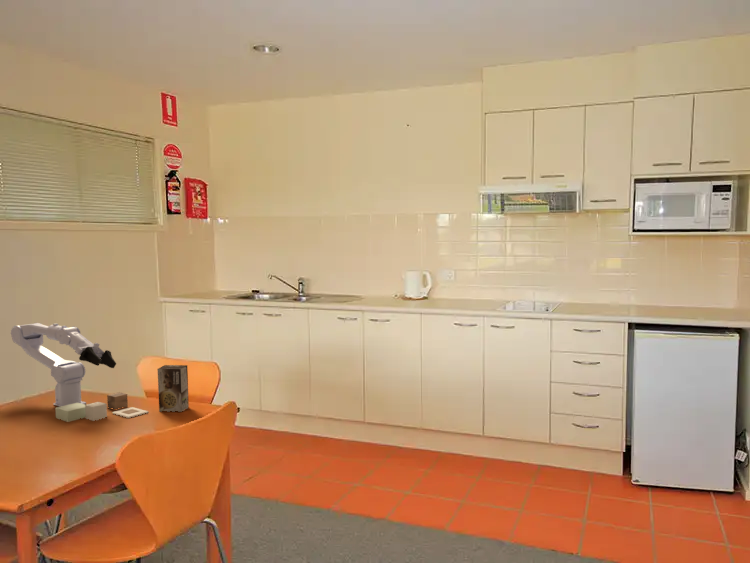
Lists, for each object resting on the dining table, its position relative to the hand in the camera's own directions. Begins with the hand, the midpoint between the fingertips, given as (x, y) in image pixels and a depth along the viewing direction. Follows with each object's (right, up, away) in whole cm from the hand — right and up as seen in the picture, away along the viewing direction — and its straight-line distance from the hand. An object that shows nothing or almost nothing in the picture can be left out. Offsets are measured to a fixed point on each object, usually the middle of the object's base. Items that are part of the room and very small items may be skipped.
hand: (107, 364), depth 215 cm
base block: (-10, -18, -5) cm, 21 cm away
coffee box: (+23, -18, +4) cm, 29 cm away
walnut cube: (+1, -17, +7) cm, 19 cm away
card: (+9, -18, -1) cm, 20 cm away
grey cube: (-1, -18, -6) cm, 19 cm away
